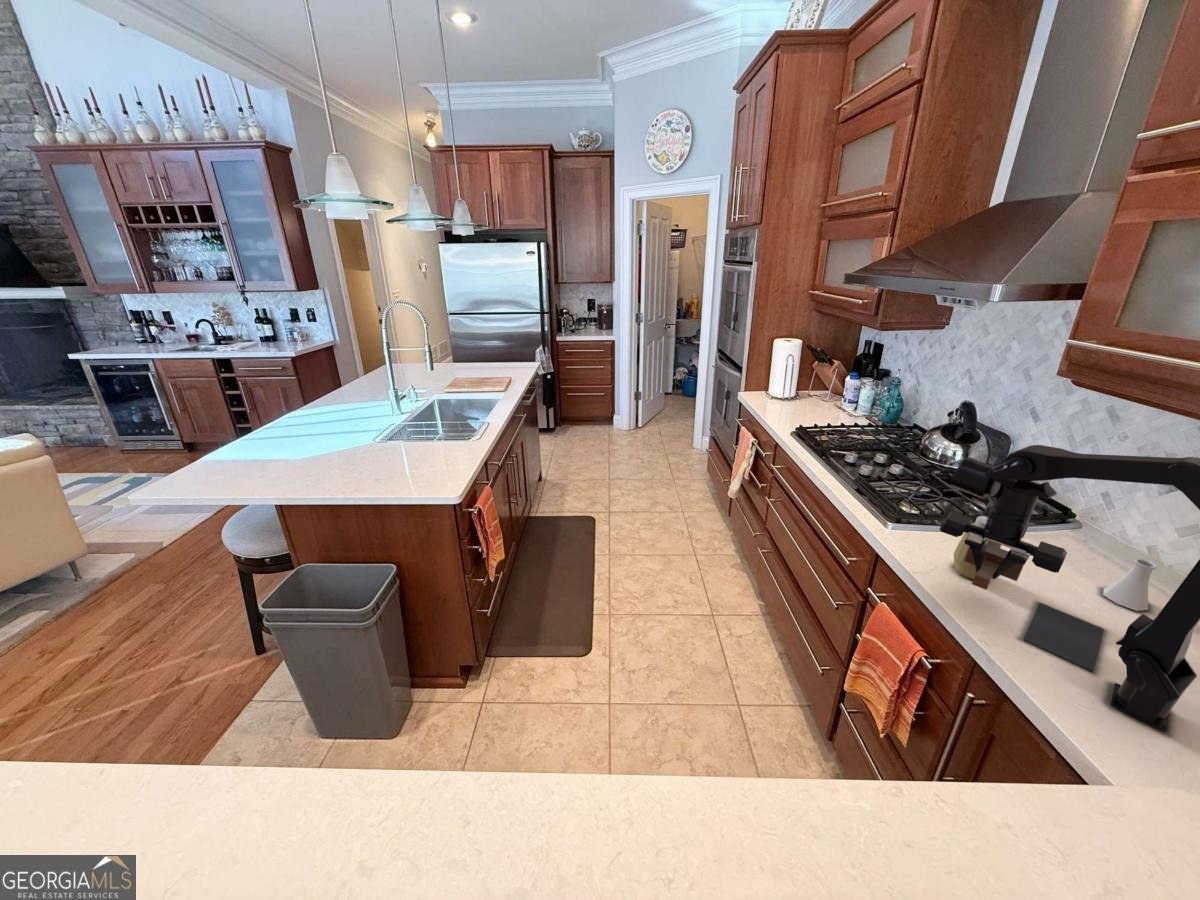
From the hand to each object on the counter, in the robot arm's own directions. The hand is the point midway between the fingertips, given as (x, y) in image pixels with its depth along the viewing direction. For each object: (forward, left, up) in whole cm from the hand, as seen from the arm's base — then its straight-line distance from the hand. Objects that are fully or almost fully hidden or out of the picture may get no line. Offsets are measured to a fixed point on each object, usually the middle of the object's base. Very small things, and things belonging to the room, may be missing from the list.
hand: (986, 575), depth 96 cm
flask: (+31, -21, -10) cm, 38 cm away
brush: (+2, 0, -1) cm, 3 cm away
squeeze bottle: (+16, +4, -10) cm, 19 cm away
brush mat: (+7, -14, -10) cm, 18 cm away
